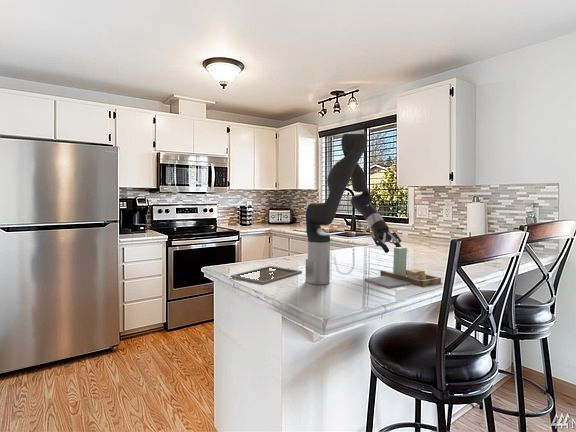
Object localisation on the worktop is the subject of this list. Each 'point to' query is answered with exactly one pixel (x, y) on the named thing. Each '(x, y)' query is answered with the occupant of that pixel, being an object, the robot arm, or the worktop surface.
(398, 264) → the sage green block
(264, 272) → the dark grey tray
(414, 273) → the oak offcut stack
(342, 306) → the worktop surface
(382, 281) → the slate tile
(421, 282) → the walnut rack
